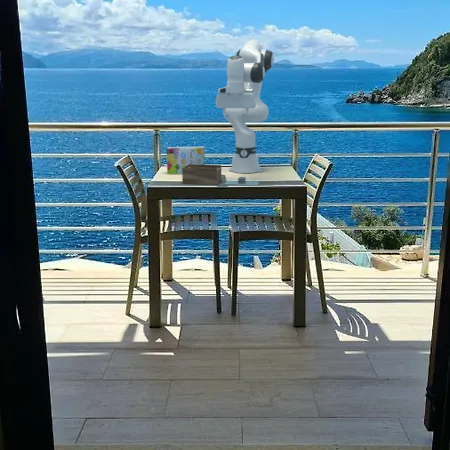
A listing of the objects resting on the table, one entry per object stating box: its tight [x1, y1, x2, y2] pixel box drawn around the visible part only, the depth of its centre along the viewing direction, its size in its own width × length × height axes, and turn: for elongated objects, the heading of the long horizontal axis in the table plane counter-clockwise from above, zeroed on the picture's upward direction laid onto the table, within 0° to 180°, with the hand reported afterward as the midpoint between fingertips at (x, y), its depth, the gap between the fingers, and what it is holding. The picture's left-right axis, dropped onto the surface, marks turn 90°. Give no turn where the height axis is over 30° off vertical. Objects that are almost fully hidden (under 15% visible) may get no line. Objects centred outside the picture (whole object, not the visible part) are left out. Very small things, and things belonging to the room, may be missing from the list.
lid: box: [223, 176, 260, 187], centre depth 300 cm, size 10×17×4 cm, turn 79°
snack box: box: [166, 145, 206, 175], centre depth 328 cm, size 21×6×15 cm, turn 92°
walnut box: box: [181, 164, 222, 186], centre depth 303 cm, size 12×18×8 cm, turn 79°
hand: (235, 117), depth 296 cm, fingers open, 8 cm apart
